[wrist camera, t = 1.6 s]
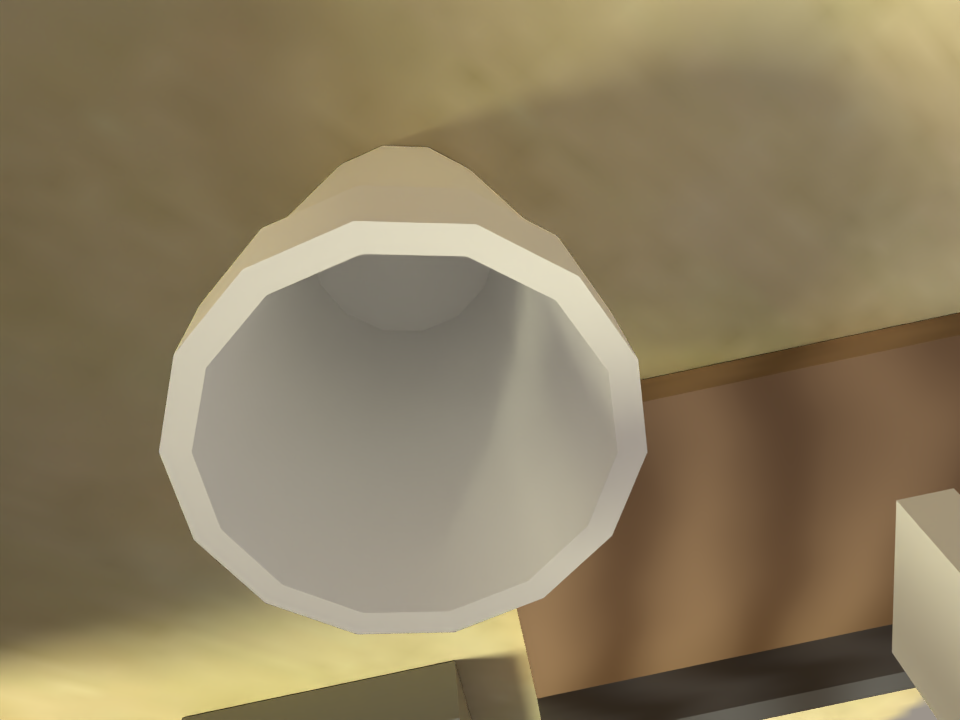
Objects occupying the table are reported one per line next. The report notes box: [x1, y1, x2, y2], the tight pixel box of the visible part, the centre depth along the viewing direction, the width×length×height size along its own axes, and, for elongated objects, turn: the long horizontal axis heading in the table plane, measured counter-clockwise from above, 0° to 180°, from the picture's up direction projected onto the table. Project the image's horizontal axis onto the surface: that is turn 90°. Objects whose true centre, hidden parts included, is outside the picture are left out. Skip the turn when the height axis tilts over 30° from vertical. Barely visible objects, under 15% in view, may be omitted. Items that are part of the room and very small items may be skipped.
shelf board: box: [517, 313, 960, 720], centre depth 33 cm, size 20×14×4 cm
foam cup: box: [159, 146, 647, 634], centre depth 23 cm, size 10×9×13 cm
